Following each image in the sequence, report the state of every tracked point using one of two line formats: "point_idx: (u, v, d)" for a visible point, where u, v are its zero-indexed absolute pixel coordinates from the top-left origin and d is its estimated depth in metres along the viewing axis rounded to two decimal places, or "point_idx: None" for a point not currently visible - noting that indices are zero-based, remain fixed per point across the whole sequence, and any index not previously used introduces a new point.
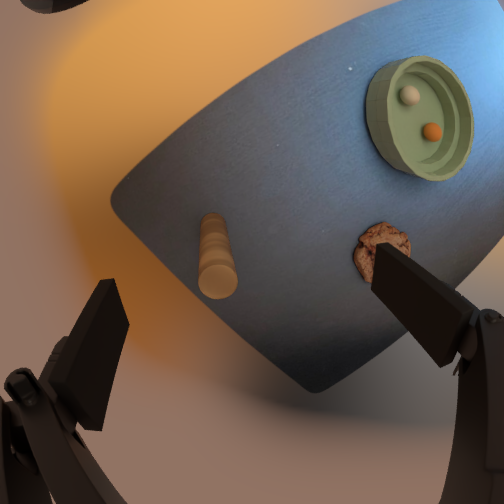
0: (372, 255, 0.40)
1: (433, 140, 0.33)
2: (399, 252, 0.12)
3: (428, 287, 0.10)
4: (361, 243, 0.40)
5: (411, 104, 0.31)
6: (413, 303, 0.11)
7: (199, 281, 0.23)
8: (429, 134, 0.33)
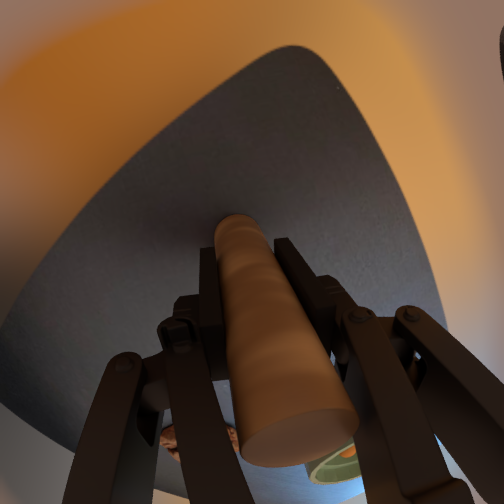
0: None
1: (341, 452, 0.31)
2: (291, 247, 0.14)
3: (298, 280, 0.11)
4: None
5: None
6: None
7: (319, 411, 0.05)
8: None
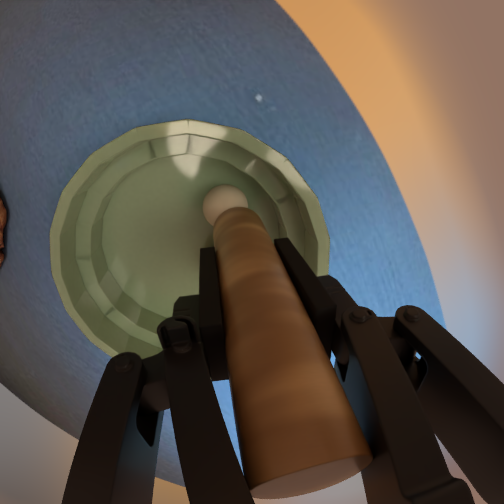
0: None
1: None
2: (291, 247, 0.14)
3: (298, 281, 0.11)
4: None
5: (203, 204, 0.18)
6: None
7: (335, 461, 0.04)
8: None
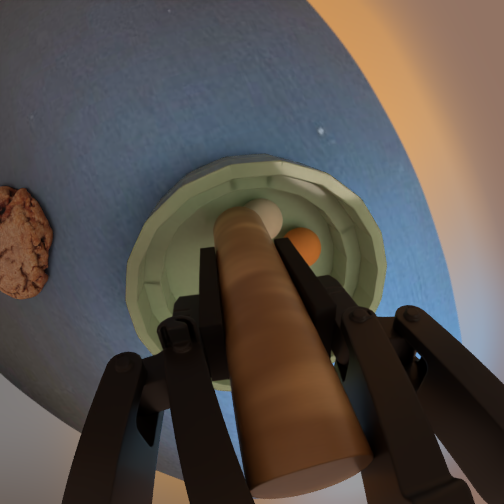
0: None
1: None
2: (291, 247, 0.14)
3: (298, 280, 0.11)
4: None
5: None
6: None
7: (335, 460, 0.04)
8: (313, 262, 0.21)
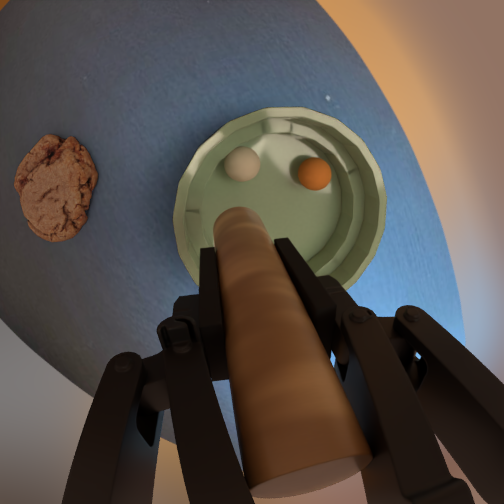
0: (47, 160, 0.20)
1: (328, 183, 0.24)
2: (291, 247, 0.14)
3: (298, 281, 0.11)
4: None
5: (255, 163, 0.22)
6: None
7: (334, 460, 0.04)
8: (326, 175, 0.23)
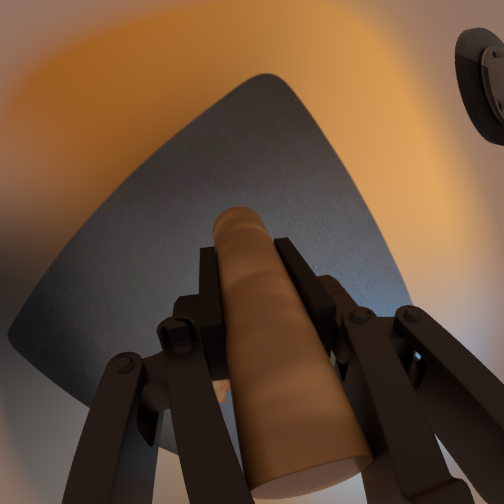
0: None
1: None
2: (291, 247, 0.14)
3: (298, 281, 0.11)
4: None
5: None
6: None
7: (334, 461, 0.04)
8: None
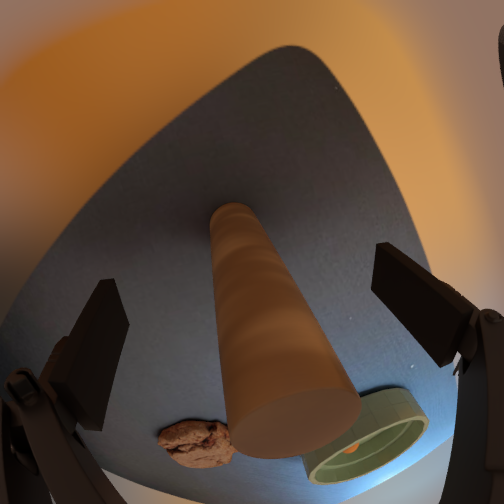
0: (201, 443, 0.26)
1: None
2: (399, 252, 0.12)
3: (428, 287, 0.10)
4: (210, 425, 0.27)
5: None
6: (413, 303, 0.11)
7: (316, 391, 0.05)
8: None
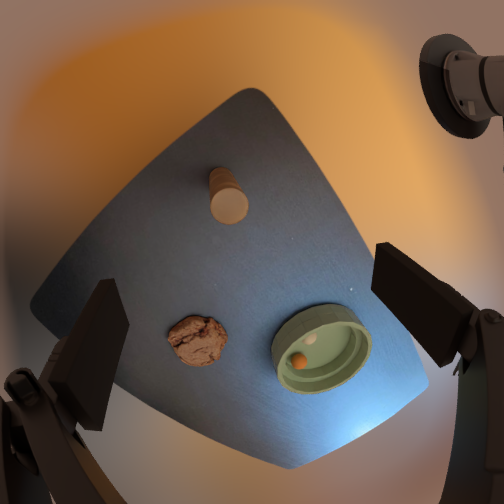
0: (198, 333, 0.44)
1: (305, 365, 0.50)
2: (399, 252, 0.12)
3: (428, 287, 0.10)
4: (206, 320, 0.45)
5: None
6: (413, 303, 0.11)
7: (231, 188, 0.23)
8: (305, 364, 0.49)
